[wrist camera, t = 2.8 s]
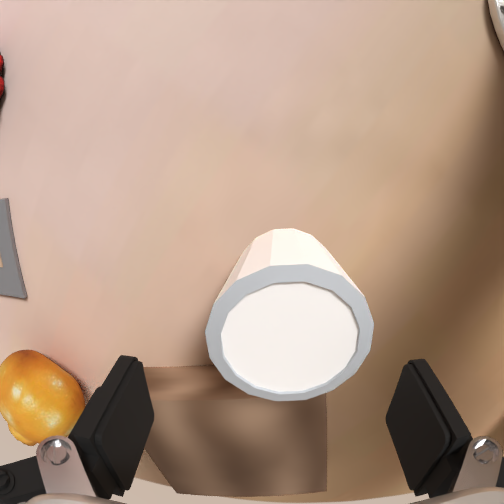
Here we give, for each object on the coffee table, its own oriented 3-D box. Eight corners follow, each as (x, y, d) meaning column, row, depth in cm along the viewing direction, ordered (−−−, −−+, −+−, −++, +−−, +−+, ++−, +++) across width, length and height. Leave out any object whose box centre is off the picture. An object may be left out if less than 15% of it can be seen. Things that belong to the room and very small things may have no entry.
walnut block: (318, 351, 21) (325, 390, 17) (323, 458, 26) (326, 491, 22) (133, 363, 23) (114, 397, 19) (184, 463, 27) (176, 493, 23)
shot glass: (212, 233, 18) (179, 287, 12) (330, 204, 17) (365, 244, 11) (244, 333, 20) (233, 412, 14) (349, 310, 19) (378, 384, 13)
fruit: (80, 412, 25) (47, 470, 18) (18, 359, 24) (-25, 409, 16) (112, 377, 23) (71, 449, 15) (38, 313, 21) (-21, 368, 14)
